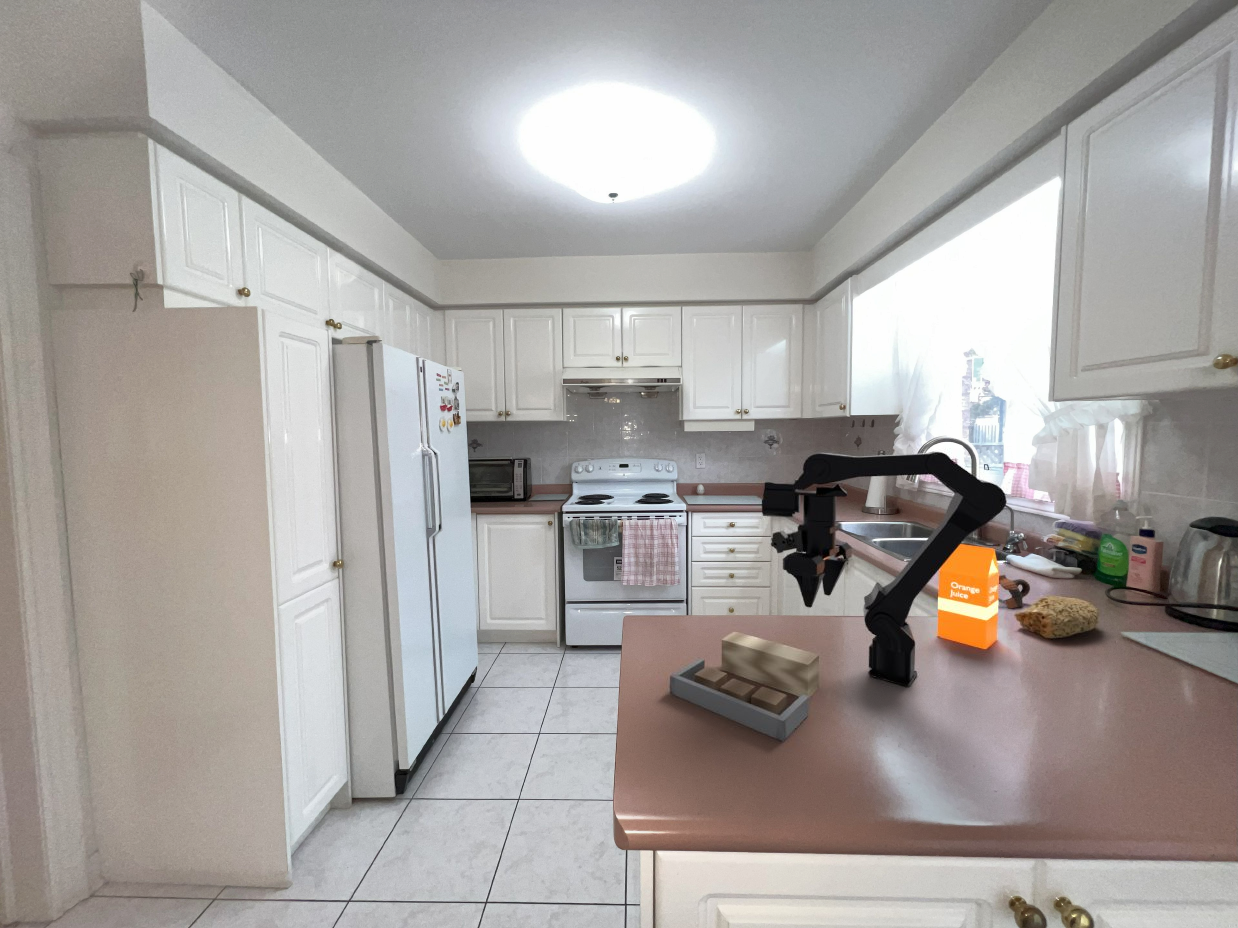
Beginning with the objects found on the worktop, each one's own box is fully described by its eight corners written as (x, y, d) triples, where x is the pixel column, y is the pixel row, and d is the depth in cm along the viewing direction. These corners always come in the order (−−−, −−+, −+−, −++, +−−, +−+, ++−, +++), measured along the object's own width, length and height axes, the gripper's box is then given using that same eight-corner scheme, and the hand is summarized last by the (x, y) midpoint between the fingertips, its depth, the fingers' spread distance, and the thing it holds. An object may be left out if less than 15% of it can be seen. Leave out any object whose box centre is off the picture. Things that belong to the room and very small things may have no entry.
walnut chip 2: (786, 713, 78) (786, 694, 78) (775, 724, 75) (775, 705, 75) (762, 704, 81) (762, 686, 80) (751, 714, 78) (751, 696, 77)
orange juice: (985, 649, 100) (988, 551, 99) (936, 636, 107) (939, 544, 106) (997, 639, 105) (1000, 546, 104) (949, 627, 112) (952, 539, 111)
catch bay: (808, 715, 77) (808, 696, 77) (783, 741, 70) (783, 720, 70) (699, 674, 91) (699, 658, 90) (670, 692, 84) (670, 675, 84)
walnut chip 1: (727, 690, 85) (727, 673, 85) (714, 699, 82) (714, 681, 82) (707, 682, 88) (707, 666, 88) (694, 691, 85) (694, 674, 85)
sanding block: (818, 688, 86) (819, 654, 85) (807, 700, 82) (808, 664, 82) (734, 661, 96) (734, 631, 96) (721, 670, 92) (721, 639, 92)
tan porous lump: (1065, 652, 102) (1130, 621, 107) (1053, 614, 102) (1118, 586, 108) (1003, 639, 115) (1063, 612, 120) (992, 605, 115) (1053, 580, 120)
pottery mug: (1000, 612, 123) (982, 579, 126) (979, 616, 132) (963, 585, 135) (1047, 599, 123) (1028, 567, 126) (1023, 604, 131) (1006, 574, 135)
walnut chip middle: (754, 704, 81) (754, 686, 80) (742, 714, 78) (742, 695, 78) (732, 695, 83) (733, 678, 83) (720, 705, 80) (720, 687, 80)
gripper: (798, 509, 106) (797, 581, 107) (756, 520, 92) (755, 603, 93) (853, 515, 98) (851, 592, 99) (816, 528, 85) (815, 618, 85)
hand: (818, 600), depth 94 cm, fingers open, 9 cm apart
